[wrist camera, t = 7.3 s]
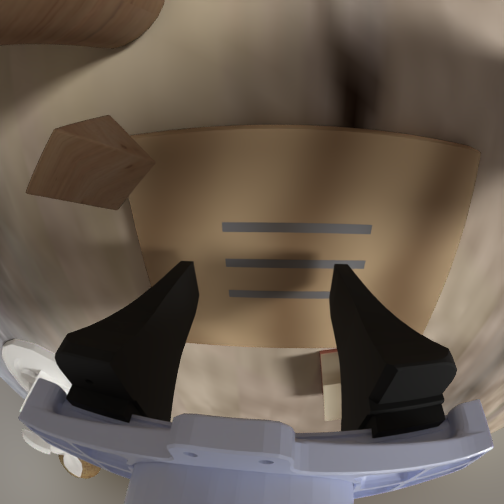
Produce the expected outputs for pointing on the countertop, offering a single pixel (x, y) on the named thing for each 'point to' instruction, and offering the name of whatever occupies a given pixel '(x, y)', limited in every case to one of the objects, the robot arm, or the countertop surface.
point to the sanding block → (331, 384)
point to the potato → (84, 468)
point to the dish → (27, 373)
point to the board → (300, 223)
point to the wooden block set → (93, 130)
